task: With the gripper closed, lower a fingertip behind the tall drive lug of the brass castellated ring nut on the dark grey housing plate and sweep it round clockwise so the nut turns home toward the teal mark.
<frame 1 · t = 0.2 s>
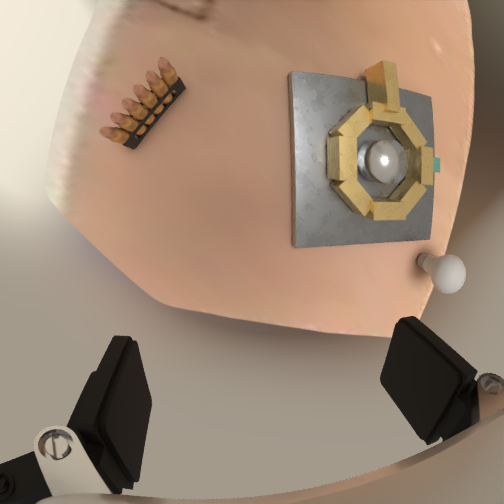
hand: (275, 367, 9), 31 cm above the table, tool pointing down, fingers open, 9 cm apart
ammunition clip: (154, 114, 33), on the table
ring nut: (385, 139, 33), point 5 cm above the table, hinge at 0.0°
lightbulb: (419, 258, 45), on the table
housing: (368, 161, 38), on the table
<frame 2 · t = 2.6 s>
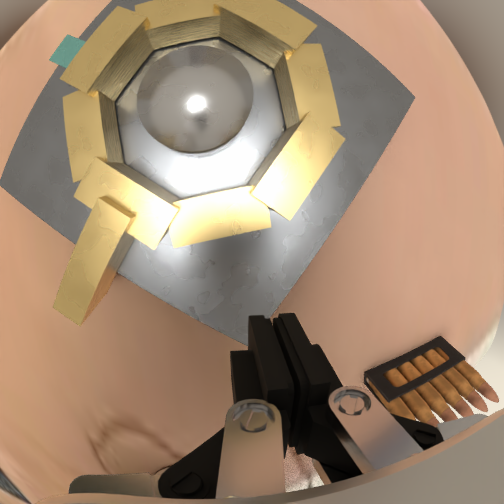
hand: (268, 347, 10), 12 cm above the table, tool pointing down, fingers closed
ammunition clip: (404, 358, 27), on the table
ring nut: (163, 145, 14), point 5 cm above the table, hinge at 0.0°
housing: (199, 117, 18), on the table
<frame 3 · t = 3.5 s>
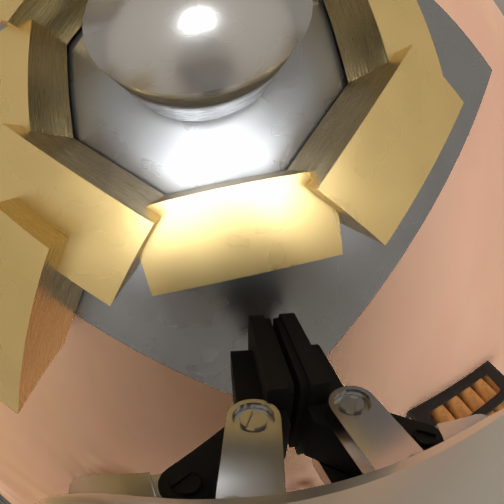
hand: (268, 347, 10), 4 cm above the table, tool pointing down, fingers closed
ammunition clip: (449, 390, 20), on the table
ring nut: (131, 92, 6), point 5 cm above the table, hinge at 0.0°
housing: (202, 65, 10), on the table
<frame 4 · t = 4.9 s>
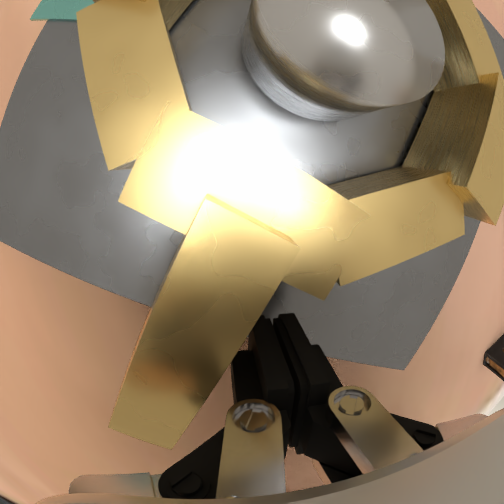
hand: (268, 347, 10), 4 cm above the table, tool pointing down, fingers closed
ring nut: (307, 90, 7), point 5 cm above the table, hinge at 6.2°, touching gripper
housing: (304, 66, 11), on the table
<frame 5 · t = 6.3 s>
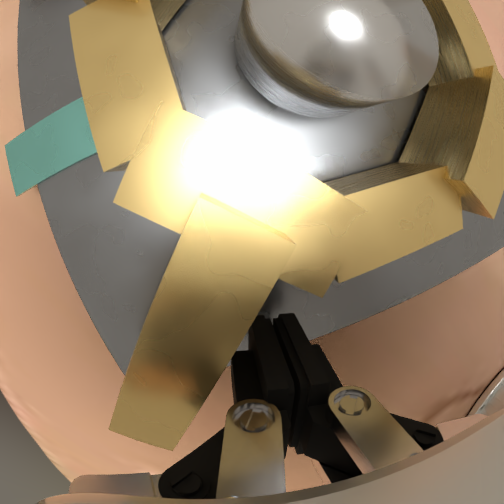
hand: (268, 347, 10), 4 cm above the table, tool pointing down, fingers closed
ring nut: (301, 87, 7), point 5 cm above the table, hinge at 43.6°, touching gripper
housing: (298, 64, 11), on the table
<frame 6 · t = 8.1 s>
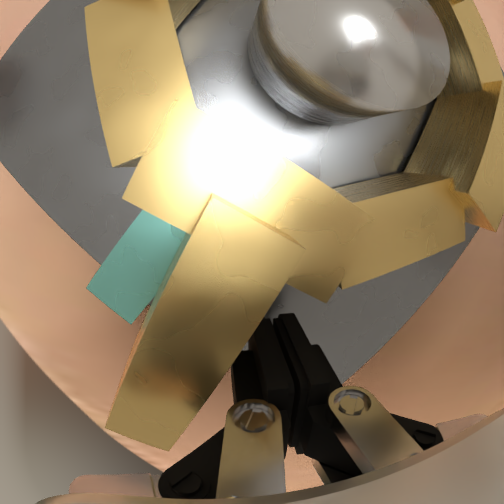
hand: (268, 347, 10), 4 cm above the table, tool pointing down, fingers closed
ring nut: (313, 93, 7), point 5 cm above the table, hinge at 76.5°, touching gripper
housing: (308, 69, 11), on the table
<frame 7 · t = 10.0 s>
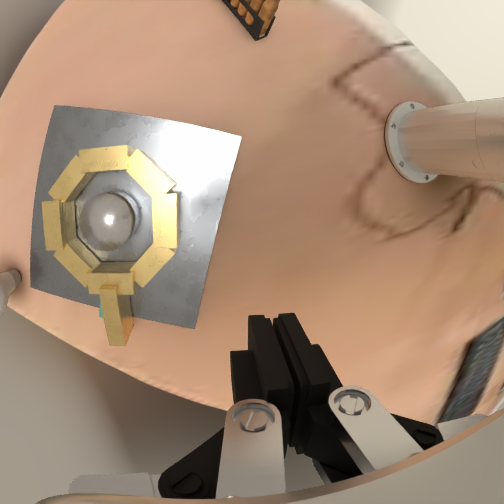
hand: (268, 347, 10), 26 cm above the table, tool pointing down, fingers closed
ammunition clip: (239, 12, 28), on the table
ring nut: (109, 248, 28), point 5 cm above the table, hinge at 76.6°
lightbulb: (18, 275, 31), on the table
housing: (119, 214, 32), on the table
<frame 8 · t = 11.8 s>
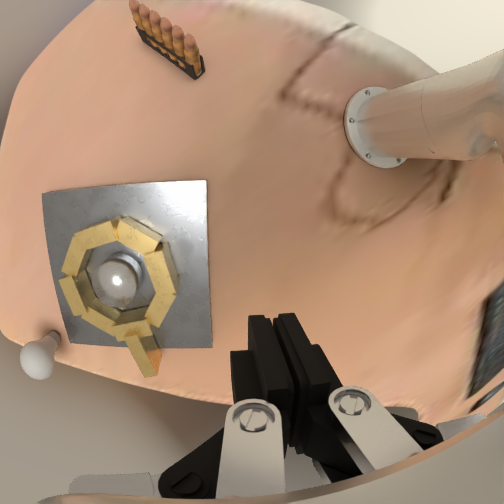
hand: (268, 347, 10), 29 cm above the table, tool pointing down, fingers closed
ammunition clip: (172, 55, 31), on the table
ring nut: (124, 302, 35), point 5 cm above the table, hinge at 76.6°
lightbulb: (57, 334, 40), on the table
housing: (125, 269, 38), on the table
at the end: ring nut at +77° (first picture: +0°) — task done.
